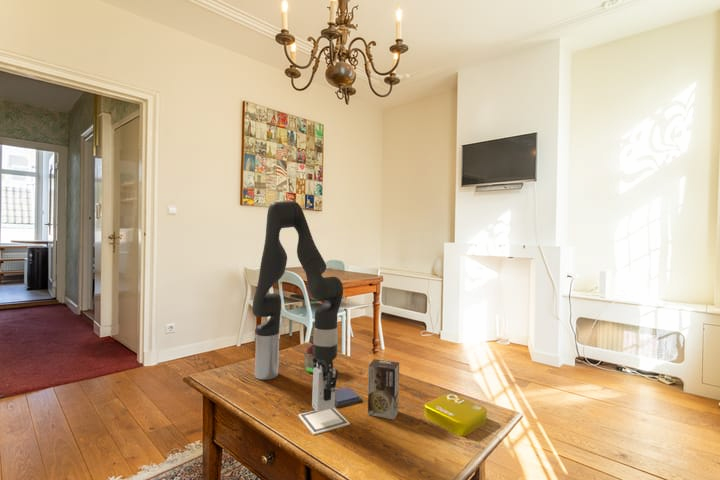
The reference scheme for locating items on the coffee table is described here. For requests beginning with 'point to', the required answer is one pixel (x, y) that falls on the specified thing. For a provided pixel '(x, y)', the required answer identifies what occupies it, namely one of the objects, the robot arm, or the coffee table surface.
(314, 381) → the skincare box
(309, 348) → the multicoloured piece
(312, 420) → the marked card
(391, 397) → the coffee box
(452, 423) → the element tile
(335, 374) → the robot arm
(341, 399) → the ink pad
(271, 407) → the coffee table surface
